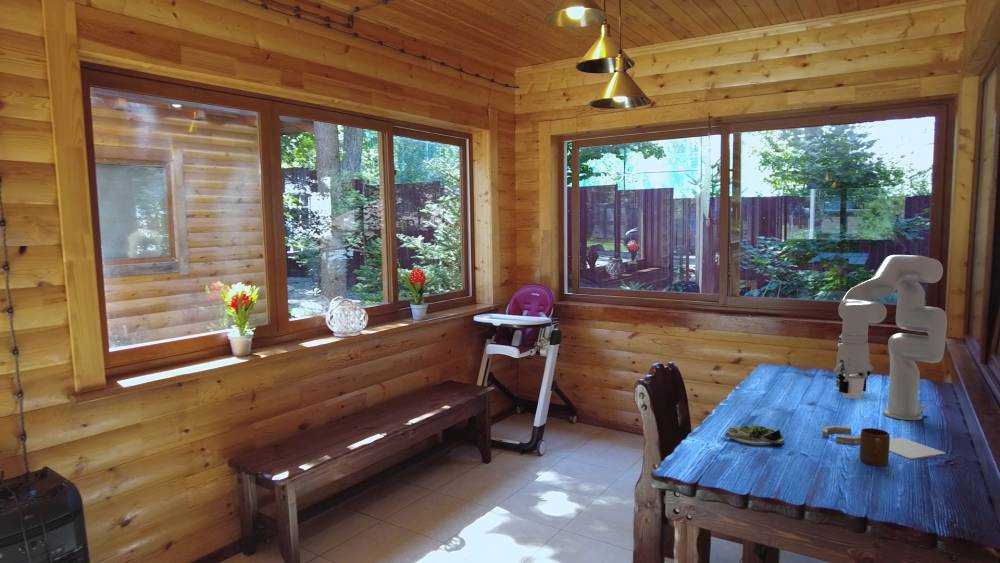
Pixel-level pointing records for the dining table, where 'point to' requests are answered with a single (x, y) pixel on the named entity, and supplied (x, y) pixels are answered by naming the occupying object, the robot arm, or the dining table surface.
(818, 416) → the dining table surface
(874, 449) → the mug
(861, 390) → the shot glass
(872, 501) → the dining table surface
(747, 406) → the dining table surface
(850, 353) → the robot arm
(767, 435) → the salad plate
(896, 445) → the rubber mat
